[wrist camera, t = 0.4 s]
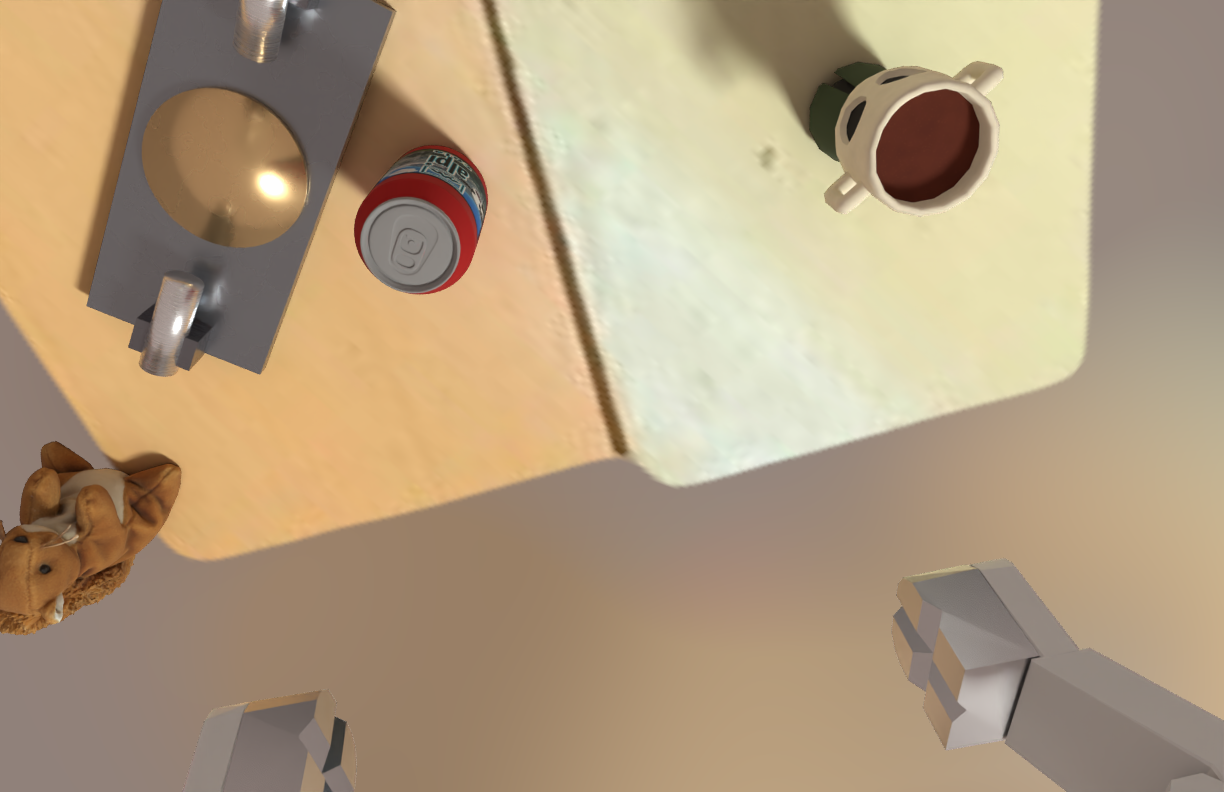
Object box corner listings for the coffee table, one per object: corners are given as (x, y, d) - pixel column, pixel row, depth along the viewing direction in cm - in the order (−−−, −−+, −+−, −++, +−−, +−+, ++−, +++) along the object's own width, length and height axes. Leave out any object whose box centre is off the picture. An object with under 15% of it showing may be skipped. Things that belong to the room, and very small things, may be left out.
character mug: (890, 6, 50) (988, 16, 39) (950, 92, 53) (1058, 125, 41) (756, 131, 53) (810, 175, 42) (819, 206, 56) (886, 267, 44)
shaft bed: (203, -129, 45) (149, -144, 39) (406, -17, 48) (384, -15, 42) (92, 311, 56) (37, 351, 50) (261, 378, 60) (228, 423, 54)
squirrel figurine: (188, 458, 63) (103, 569, 51) (160, 587, 68) (78, 713, 57) (50, 418, 60) (-71, 525, 49) (33, 556, 66) (-78, 680, 54)
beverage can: (504, 168, 53) (491, 217, 43) (468, 257, 56) (447, 323, 46) (407, 124, 52) (368, 163, 41) (375, 217, 55) (331, 277, 44)
